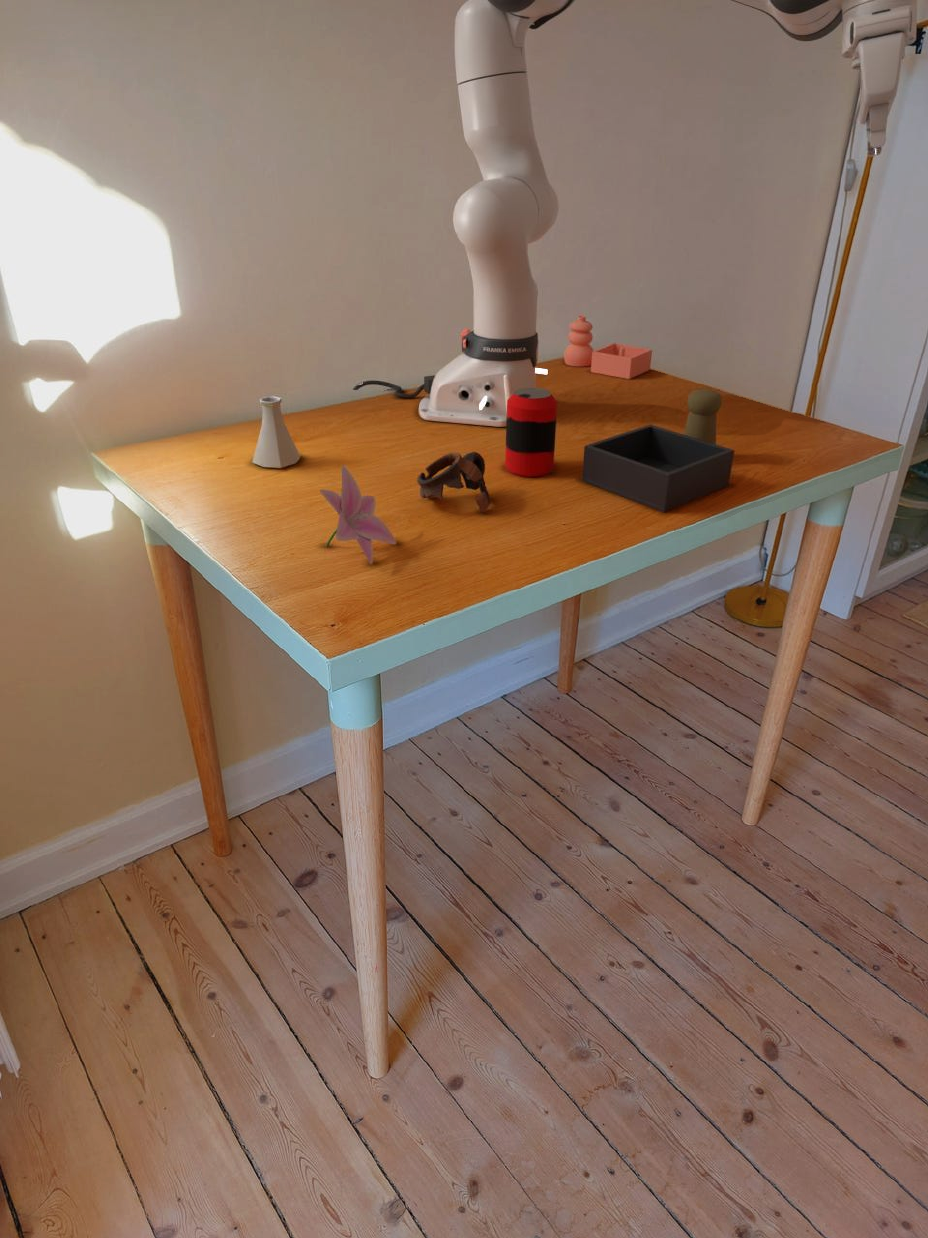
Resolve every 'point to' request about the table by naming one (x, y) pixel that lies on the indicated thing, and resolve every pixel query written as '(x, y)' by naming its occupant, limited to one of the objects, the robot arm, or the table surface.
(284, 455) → the flask
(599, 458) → the open box
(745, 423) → the table surface
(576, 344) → the pottery
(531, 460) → the soda can
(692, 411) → the cork
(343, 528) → the lily
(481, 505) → the broken clay pot
